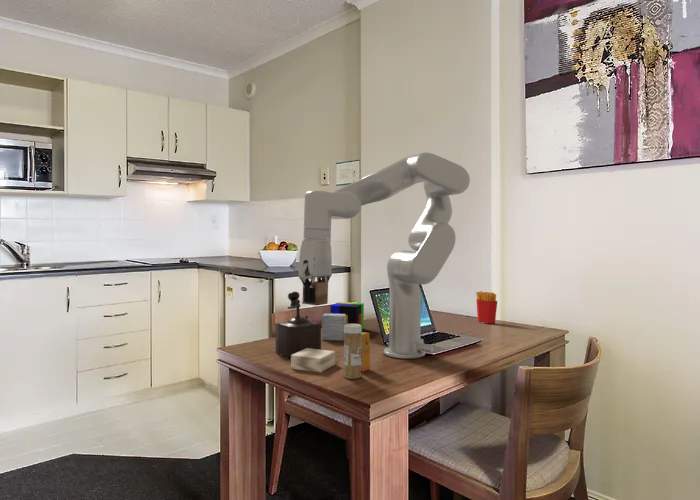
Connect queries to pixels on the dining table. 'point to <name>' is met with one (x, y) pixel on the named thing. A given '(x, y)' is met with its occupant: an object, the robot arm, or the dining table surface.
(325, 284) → the walnut block
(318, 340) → the manual coffee grinder
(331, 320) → the medicine box
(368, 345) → the supplement box
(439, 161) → the robot arm
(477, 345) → the dining table surface
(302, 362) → the birch block
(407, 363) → the dining table surface
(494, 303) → the french fries
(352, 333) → the sprinkles bottle
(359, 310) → the puzzle toy
